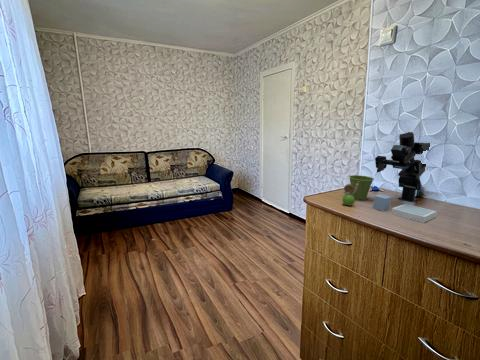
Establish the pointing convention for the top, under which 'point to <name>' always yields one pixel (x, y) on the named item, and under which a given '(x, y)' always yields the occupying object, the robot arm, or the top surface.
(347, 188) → the snail figurine
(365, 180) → the plant pot
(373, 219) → the top surface
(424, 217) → the base
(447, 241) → the top surface
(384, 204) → the block
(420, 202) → the top surface
